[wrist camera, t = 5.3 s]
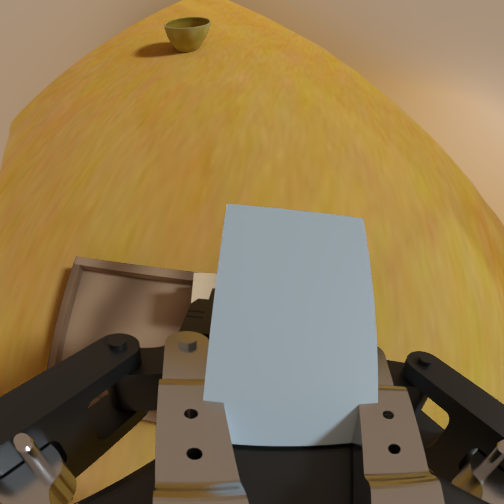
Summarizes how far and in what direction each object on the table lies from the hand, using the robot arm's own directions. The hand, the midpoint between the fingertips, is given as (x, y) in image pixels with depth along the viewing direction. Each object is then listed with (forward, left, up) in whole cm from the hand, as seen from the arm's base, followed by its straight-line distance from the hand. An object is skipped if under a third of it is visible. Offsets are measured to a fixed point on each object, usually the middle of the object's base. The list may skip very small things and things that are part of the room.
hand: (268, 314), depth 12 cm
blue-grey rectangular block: (0, +2, -5) cm, 5 cm away
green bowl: (+19, -61, -14) cm, 65 cm away
